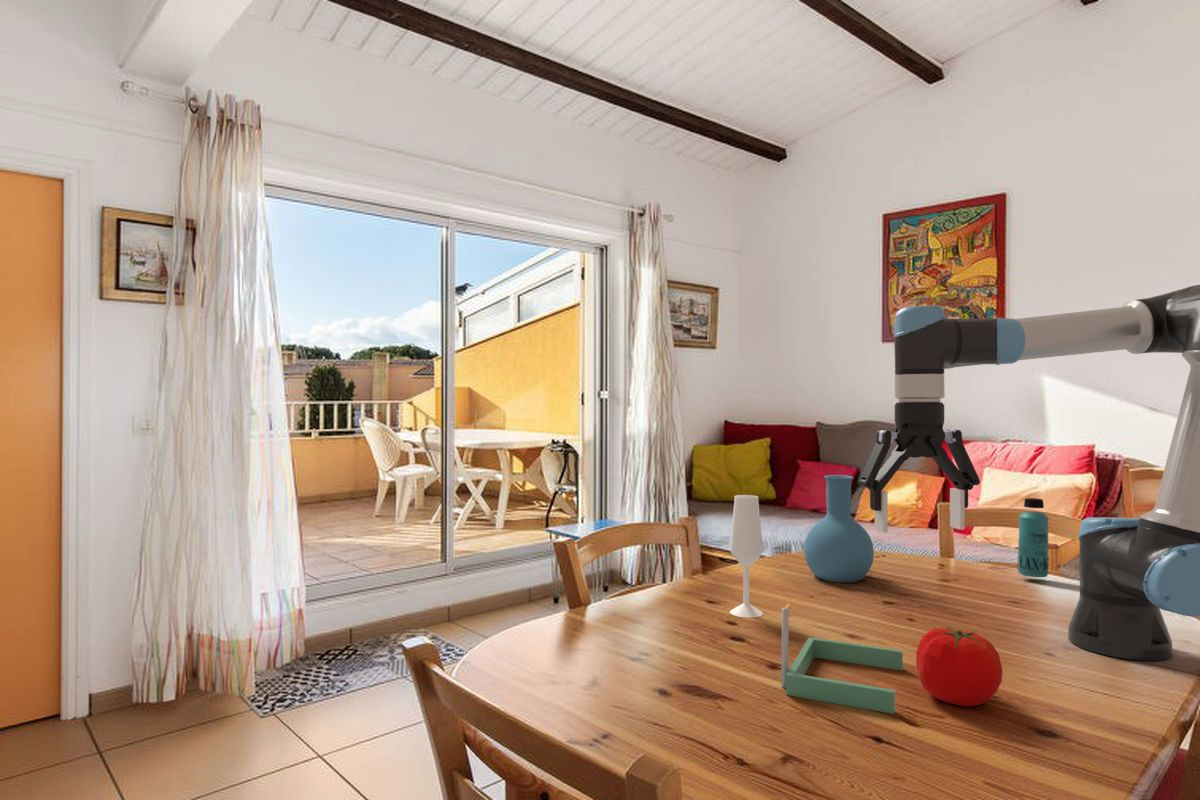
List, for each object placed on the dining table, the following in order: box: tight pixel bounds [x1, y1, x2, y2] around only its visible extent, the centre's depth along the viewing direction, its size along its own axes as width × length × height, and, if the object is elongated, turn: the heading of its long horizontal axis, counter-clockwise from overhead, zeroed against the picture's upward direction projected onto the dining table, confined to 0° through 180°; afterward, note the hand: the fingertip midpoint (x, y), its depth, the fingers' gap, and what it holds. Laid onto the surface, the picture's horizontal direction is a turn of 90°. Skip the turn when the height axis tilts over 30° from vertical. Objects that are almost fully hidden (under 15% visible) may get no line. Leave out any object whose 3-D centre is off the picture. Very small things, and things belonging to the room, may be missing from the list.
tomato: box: [915, 625, 1003, 708], centre depth 107 cm, size 12×12×10 cm
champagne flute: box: [729, 494, 764, 619], centre depth 150 cm, size 7×7×24 cm
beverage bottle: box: [1017, 497, 1050, 578], centre depth 177 cm, size 6×7×20 cm
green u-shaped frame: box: [781, 602, 904, 715], centre depth 114 cm, size 16×19×12 cm
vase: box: [803, 474, 875, 584], centre depth 180 cm, size 16×16×25 cm
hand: (919, 529), depth 120 cm, fingers open, 13 cm apart
